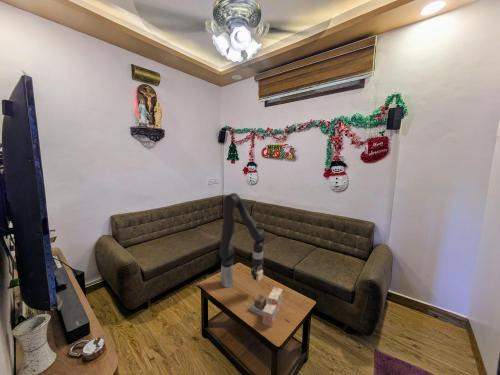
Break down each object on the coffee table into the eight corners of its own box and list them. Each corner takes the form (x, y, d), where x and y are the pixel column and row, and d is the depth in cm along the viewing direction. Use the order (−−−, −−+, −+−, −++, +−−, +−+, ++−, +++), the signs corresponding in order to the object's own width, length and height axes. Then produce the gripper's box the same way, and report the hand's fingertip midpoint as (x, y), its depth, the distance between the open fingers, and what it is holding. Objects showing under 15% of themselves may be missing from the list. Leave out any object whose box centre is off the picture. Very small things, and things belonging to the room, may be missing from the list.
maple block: (251, 278, 153) (251, 271, 152) (256, 274, 158) (256, 267, 157) (258, 281, 150) (258, 274, 149) (262, 277, 155) (263, 270, 154)
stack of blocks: (271, 327, 127) (272, 310, 125) (262, 323, 130) (262, 306, 128) (282, 304, 146) (282, 288, 144) (273, 301, 149) (274, 286, 146)
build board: (248, 309, 141) (248, 307, 141) (258, 298, 151) (258, 297, 151) (262, 316, 135) (262, 315, 135) (271, 305, 145) (271, 304, 145)
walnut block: (254, 306, 142) (254, 298, 141) (258, 301, 147) (259, 293, 146) (261, 310, 139) (261, 302, 138) (266, 305, 144) (266, 297, 142)
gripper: (258, 250, 158) (258, 270, 162) (248, 258, 147) (247, 279, 150) (267, 253, 154) (266, 274, 158) (256, 262, 143) (256, 284, 146)
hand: (257, 276), depth 154 cm, fingers closed on maple block, 6 cm apart
